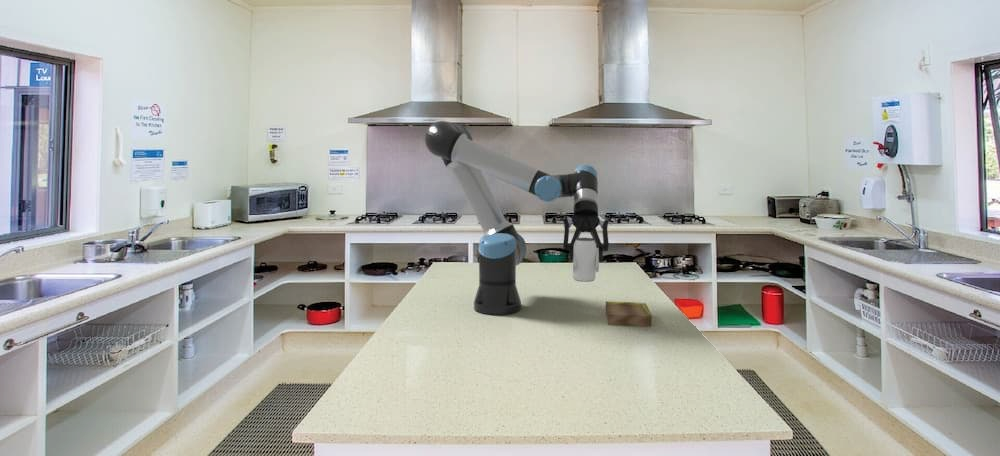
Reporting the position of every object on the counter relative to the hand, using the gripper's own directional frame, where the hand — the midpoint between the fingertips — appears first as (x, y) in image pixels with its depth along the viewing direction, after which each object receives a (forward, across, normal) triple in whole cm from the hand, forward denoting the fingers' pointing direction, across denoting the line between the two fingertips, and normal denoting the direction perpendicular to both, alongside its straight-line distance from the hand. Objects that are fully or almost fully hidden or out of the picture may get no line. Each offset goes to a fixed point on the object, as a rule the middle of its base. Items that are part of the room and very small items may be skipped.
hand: (585, 268), depth 142 cm
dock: (+7, -13, -16) cm, 22 cm away
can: (0, 0, -6) cm, 6 cm away
